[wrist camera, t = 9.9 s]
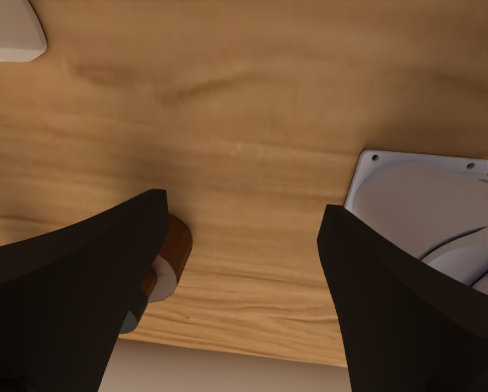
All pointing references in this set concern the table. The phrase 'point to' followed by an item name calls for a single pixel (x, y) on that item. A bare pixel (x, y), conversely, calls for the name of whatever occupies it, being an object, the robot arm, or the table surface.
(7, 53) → the eye dropper bottle
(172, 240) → the amber bottle
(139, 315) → the cylinder
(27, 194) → the table surface
